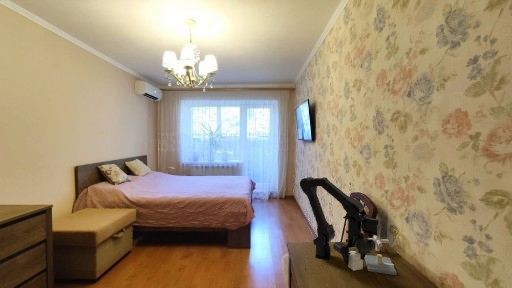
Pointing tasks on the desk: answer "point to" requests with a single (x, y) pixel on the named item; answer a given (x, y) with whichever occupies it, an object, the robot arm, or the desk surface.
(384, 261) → the panel
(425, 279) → the desk surface
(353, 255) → the knob
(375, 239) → the pipe connector
